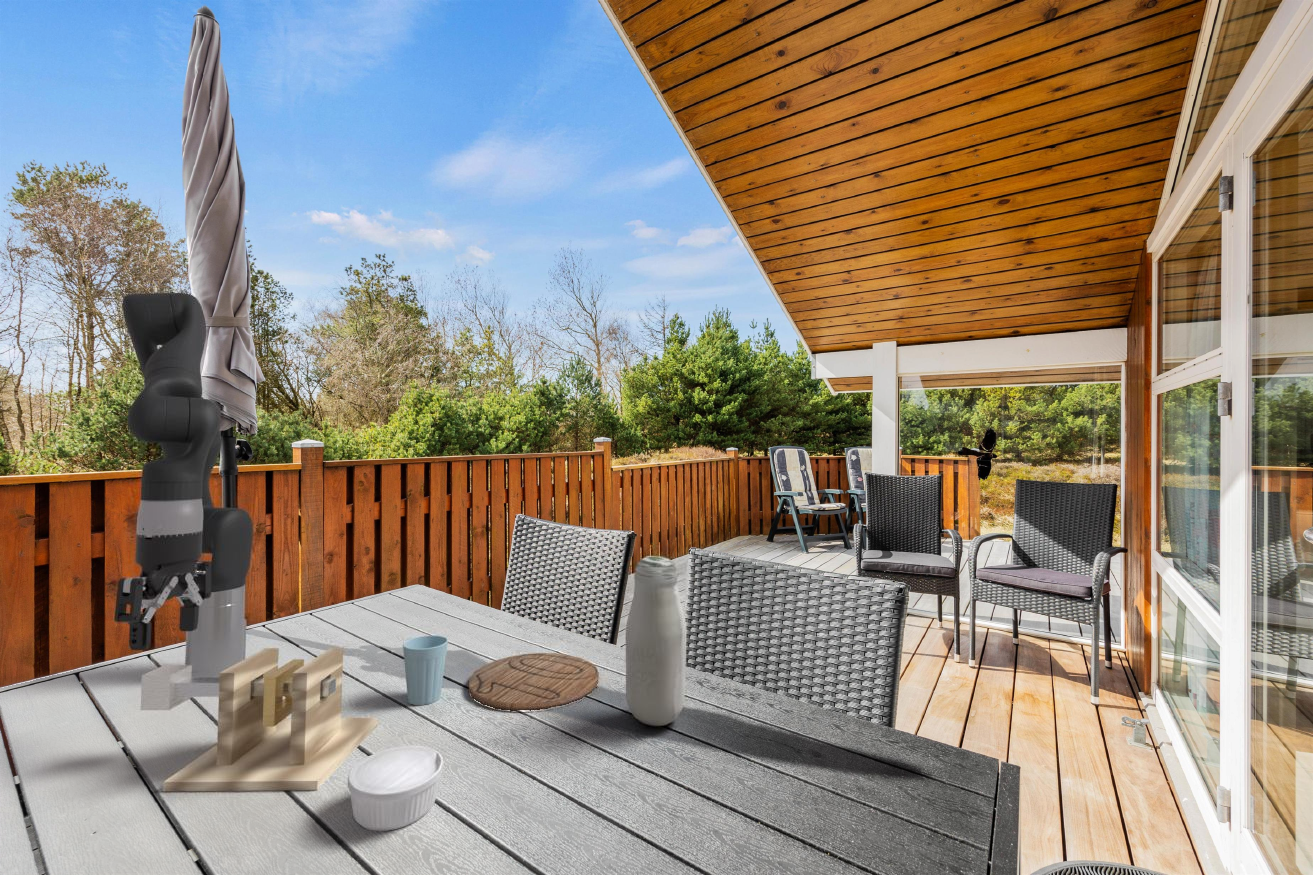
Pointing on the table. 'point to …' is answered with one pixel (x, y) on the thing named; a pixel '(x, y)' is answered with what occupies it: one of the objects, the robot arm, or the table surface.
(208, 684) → the shaft
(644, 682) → the glass bottle
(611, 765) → the table surface
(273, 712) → the spacer ring
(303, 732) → the bracket
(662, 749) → the table surface
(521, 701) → the trivet
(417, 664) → the cup
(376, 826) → the ramekin
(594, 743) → the table surface
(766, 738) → the table surface
